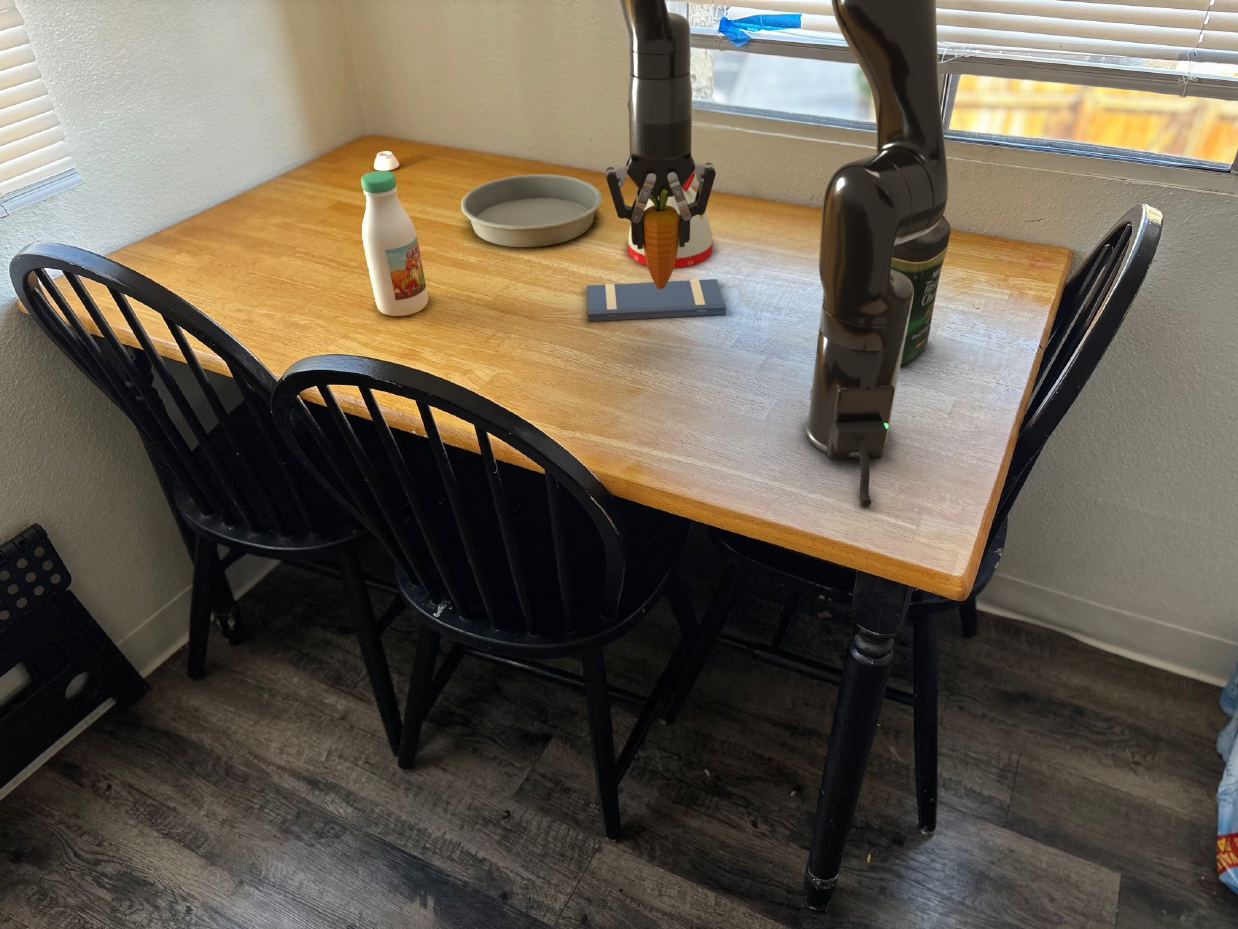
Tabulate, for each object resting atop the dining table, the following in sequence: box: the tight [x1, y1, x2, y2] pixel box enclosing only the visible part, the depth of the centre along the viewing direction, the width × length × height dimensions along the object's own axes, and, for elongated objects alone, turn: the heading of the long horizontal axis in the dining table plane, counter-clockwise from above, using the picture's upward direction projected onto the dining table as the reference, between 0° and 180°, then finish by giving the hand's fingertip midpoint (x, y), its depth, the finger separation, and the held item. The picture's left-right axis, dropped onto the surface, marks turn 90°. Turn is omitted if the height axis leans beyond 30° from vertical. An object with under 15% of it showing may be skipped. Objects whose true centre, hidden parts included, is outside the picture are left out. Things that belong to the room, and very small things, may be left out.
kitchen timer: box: [628, 172, 714, 269], centre depth 145 cm, size 14×14×15 cm
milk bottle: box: [360, 170, 429, 317], centre depth 130 cm, size 8×8×20 cm
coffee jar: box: [891, 215, 952, 365], centre depth 116 cm, size 10×8×19 cm
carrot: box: [642, 189, 680, 290], centre depth 117 cm, size 5×5×15 cm
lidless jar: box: [373, 150, 400, 172], centre depth 184 cm, size 5×3×5 cm
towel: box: [586, 278, 727, 322], centre depth 134 cm, size 10×20×1 cm, turn 93°
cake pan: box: [460, 173, 603, 248], centre depth 158 cm, size 25×25×4 cm
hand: (660, 245), depth 118 cm, fingers closed on carrot, 5 cm apart
